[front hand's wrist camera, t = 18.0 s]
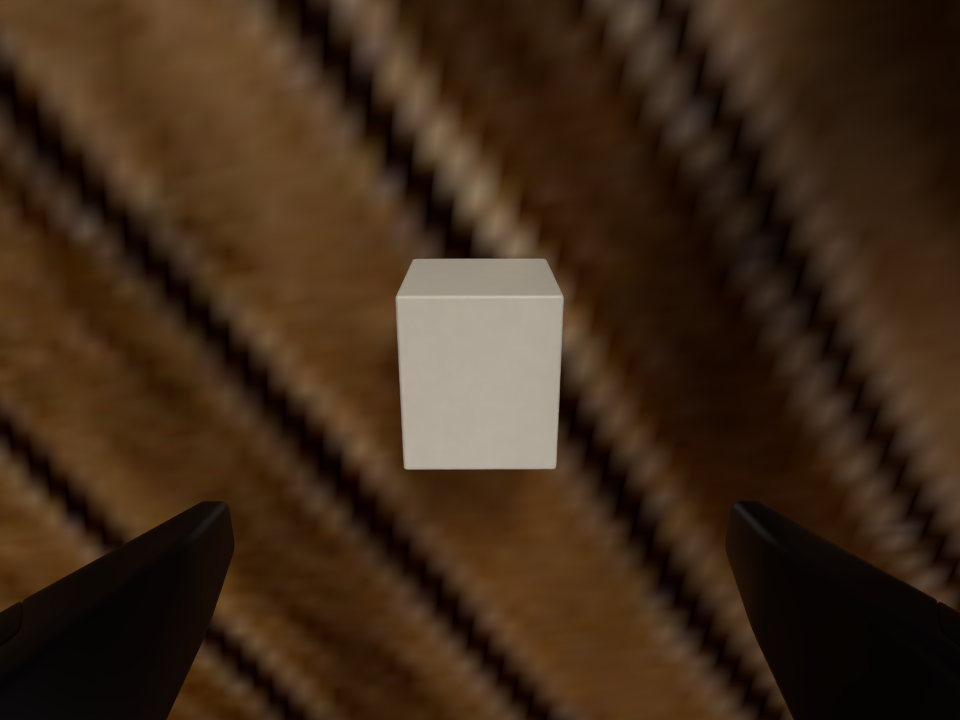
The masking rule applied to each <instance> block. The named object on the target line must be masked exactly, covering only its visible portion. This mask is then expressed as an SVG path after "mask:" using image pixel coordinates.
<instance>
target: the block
mask: <svg viewBox="0 0 960 720" xmlns="http://www.w3.org/2000/svg"><path fill="white" fill-rule="evenodd" d="M395 301H396V321H397V341H398V361H399V381H400V401H401V421H402V441H403V461H404V468H405V469H407V470H416V469H555V468H556V461H557V439H558V417H559V395H560V372H561V350H562V328H563V306H564V297H563V295H562V293H561V291H560V288H559V286H558V284H557V282H556V280H555V278H554V276H553V273H552V271H551V269H550V267H549V265H548V263H547V260H546V259H414V260H413V261H412V263H411V265H410V267H409V269H408V272H407V274H406V276H405V278H404V280H403V283H402V285H401V287H400V289H399V291H398V293H397V296H396V298H395Z"/></svg>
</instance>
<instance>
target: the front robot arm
mask: <svg viewBox="0 0 960 720" xmlns="http://www.w3.org/2000/svg"><path fill="white" fill-rule="evenodd" d="M233 551H234V536H233V530H232V523H231V517H230V511H229V507H228V505H227V504H226V503H225V502H223V501H204V502H201V503H199V504H197V505H195V506H193V507H191V508H190V509H188V510H186V511H184V512H182V513H181V514H179V515H177V516H175V517H173V518H171V519H170V520H168V521H166V522H164V523H162V524H160V525H159V526H157V527H155V528H153V529H151V530H150V531H148V532H146V533H144V534H142V535H140V536H139V537H137V538H135V539H133V540H131V541H130V542H128V543H126V544H124V545H122V546H120V547H119V548H117V549H115V550H113V551H111V552H110V553H108V554H106V555H104V556H102V557H100V558H99V559H97V560H95V561H93V562H91V563H89V564H88V565H86V566H84V567H82V568H80V569H79V570H77V571H75V572H73V573H71V574H69V575H68V576H66V577H64V578H62V579H60V580H59V581H57V582H55V583H53V584H51V585H49V586H48V587H46V588H44V589H42V590H40V591H38V592H37V593H35V594H33V595H31V596H29V597H28V598H26V599H24V600H23V603H22V602H18V603H16V604H15V605H13V606H11V607H9V608H7V609H6V610H4V611H2V612H0V720H166V719H167V717H168V715H169V713H170V711H171V708H172V706H173V704H174V702H175V700H176V698H177V695H178V693H179V691H180V689H181V687H182V685H183V683H184V680H185V678H186V676H187V674H188V672H189V670H190V667H191V665H192V663H193V661H194V659H195V657H196V654H197V652H198V650H199V648H200V646H201V644H202V641H203V639H204V637H205V634H206V632H207V630H208V627H209V624H210V622H211V619H212V616H213V613H214V610H215V607H216V604H217V601H218V598H219V595H220V592H221V589H222V586H223V583H224V580H225V577H226V574H227V571H228V568H229V565H230V562H231V559H232V555H233ZM726 551H727V555H728V559H729V562H730V565H731V568H732V571H733V574H734V577H735V580H736V583H737V586H738V589H739V592H740V595H741V598H742V601H743V604H744V607H745V610H746V613H747V616H748V619H749V622H750V624H751V627H752V630H753V632H754V634H755V637H756V639H757V641H758V644H759V646H760V648H761V650H762V652H763V654H764V657H765V659H766V661H767V663H768V665H769V667H770V670H771V672H772V674H773V676H774V678H775V680H776V683H777V685H778V687H779V689H780V691H781V693H782V695H783V698H784V700H785V702H786V704H787V706H788V708H789V711H790V713H791V715H792V717H793V719H794V720H960V612H958V611H956V610H954V609H953V608H951V607H949V606H947V605H945V604H944V603H942V602H938V603H937V600H936V599H934V598H932V597H931V596H929V595H927V594H925V593H923V592H922V591H920V590H918V589H916V588H914V587H912V586H911V585H909V584H907V583H905V582H903V581H901V580H900V579H898V578H896V577H894V576H892V575H891V574H889V573H887V572H885V571H883V570H881V569H880V568H878V567H876V566H874V565H872V564H871V563H869V562H867V561H865V560H863V559H861V558H860V557H858V556H856V555H854V554H852V553H850V552H849V551H847V550H845V549H843V548H841V547H840V546H838V545H836V544H834V543H832V542H830V541H829V540H827V539H825V538H823V537H821V536H820V535H818V534H816V533H814V532H812V531H810V530H809V529H807V528H805V527H803V526H801V525H799V524H798V523H796V522H794V521H792V520H790V519H789V518H787V517H785V516H783V515H781V514H779V513H778V512H776V511H774V510H772V509H770V508H769V507H767V506H765V505H763V504H761V503H759V502H756V501H737V502H735V503H734V504H733V505H732V507H731V511H730V517H729V523H728V530H727V536H726Z"/></svg>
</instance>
